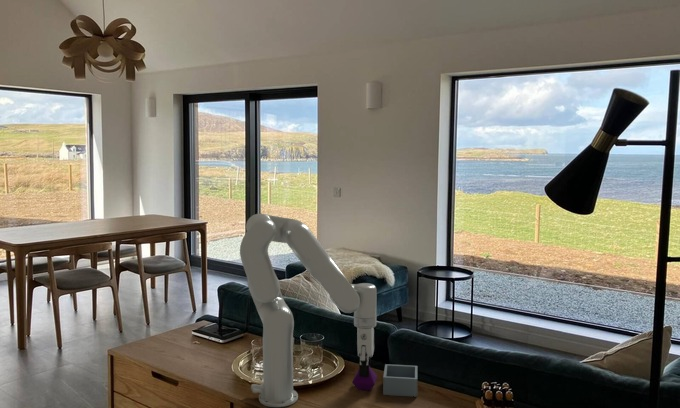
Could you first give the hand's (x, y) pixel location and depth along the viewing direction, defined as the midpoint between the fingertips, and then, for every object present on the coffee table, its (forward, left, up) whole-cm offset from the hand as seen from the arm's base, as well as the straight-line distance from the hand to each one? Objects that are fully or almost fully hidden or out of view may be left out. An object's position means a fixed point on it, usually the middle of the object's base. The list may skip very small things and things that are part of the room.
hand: (364, 372), depth 190 cm
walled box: (+12, +1, -5) cm, 13 cm away
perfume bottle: (0, 0, -6) cm, 6 cm away
